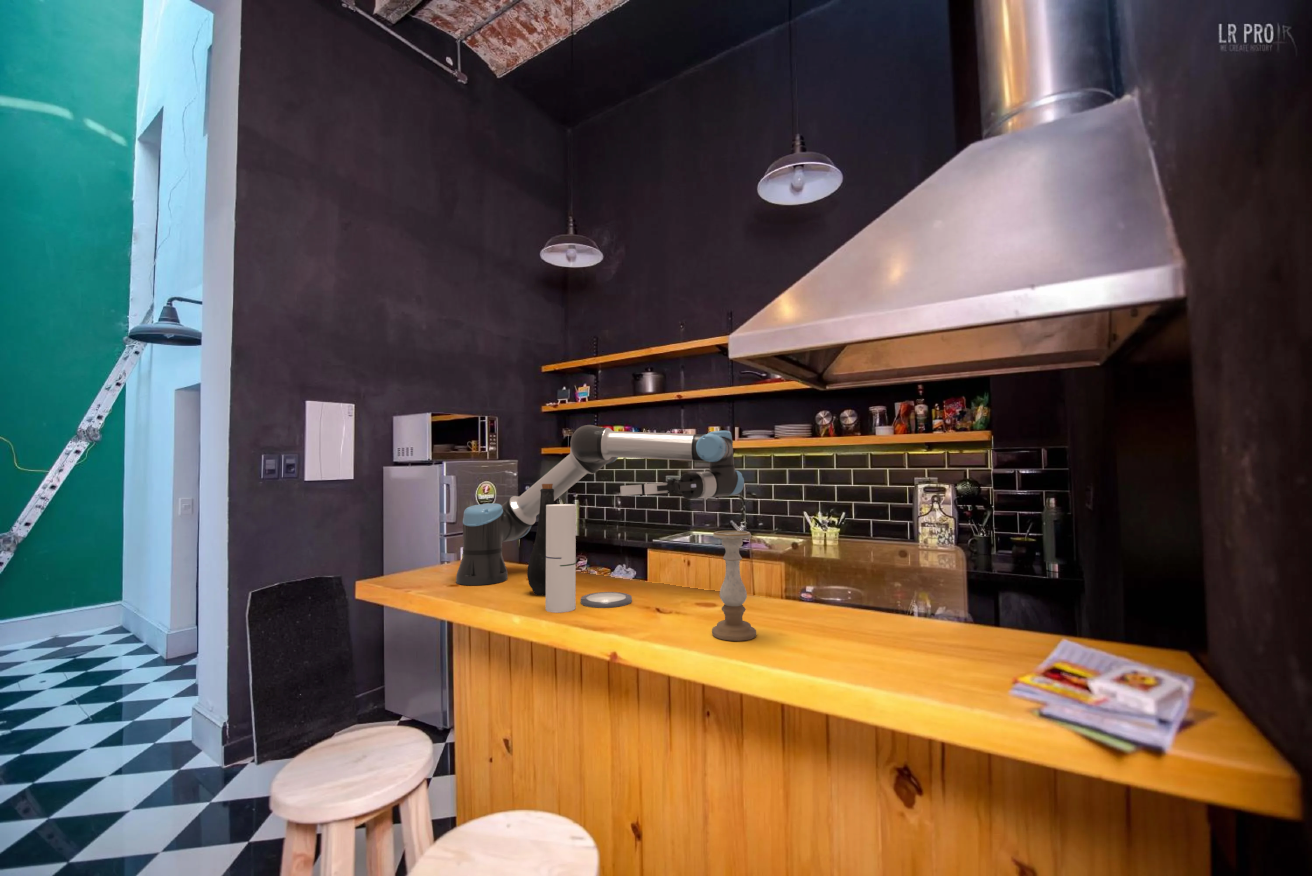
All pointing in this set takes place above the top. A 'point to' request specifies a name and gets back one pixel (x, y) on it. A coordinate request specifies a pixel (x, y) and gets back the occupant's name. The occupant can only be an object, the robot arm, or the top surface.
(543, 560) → the bottle
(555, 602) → the cylindrical container
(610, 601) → the base plate
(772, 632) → the top surface
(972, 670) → the top surface
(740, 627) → the candle holder
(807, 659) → the top surface
